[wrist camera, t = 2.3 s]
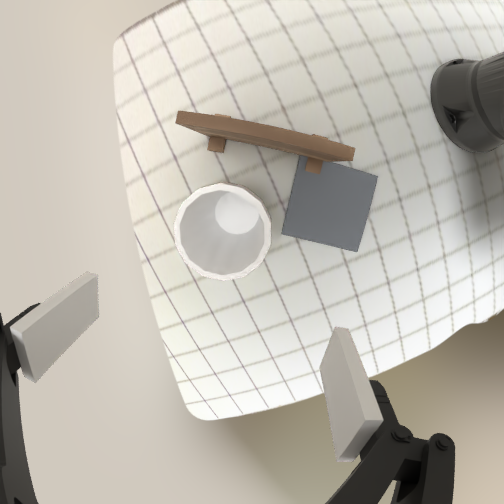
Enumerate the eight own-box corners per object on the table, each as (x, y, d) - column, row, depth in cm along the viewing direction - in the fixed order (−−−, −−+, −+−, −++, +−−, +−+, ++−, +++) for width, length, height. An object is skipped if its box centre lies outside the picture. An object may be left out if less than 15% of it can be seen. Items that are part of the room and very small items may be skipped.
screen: (213, 114, 37) (182, 91, 23) (330, 139, 37) (359, 128, 23) (205, 149, 38) (171, 143, 25) (322, 175, 38) (347, 181, 25)
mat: (300, 154, 38) (300, 154, 37) (376, 176, 38) (378, 176, 37) (281, 233, 41) (281, 234, 40) (356, 251, 41) (357, 252, 40)
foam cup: (283, 228, 41) (287, 257, 28) (223, 256, 42) (203, 294, 30) (252, 165, 39) (242, 165, 26) (192, 196, 40) (157, 211, 28)
